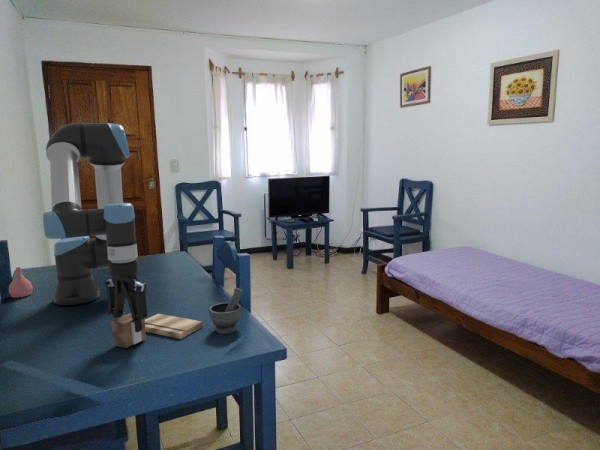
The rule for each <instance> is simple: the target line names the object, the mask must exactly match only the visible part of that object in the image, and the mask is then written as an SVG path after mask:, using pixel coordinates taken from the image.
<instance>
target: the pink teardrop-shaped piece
mask: <svg viewBox="0 0 600 450" xmlns="http://www.w3.org/2000/svg"><path fill="white" fill-rule="evenodd" d="M15 272H16V274H15V276H14V279H13V280H12V281H11V282H10V284H9V285H8V292H9V294H10V297H11V298H15V299H17V298H18V299H20V298H19V297H21V298H26V297H28V296H30V295H32V294H33V284H32V282H31V281H30V280H28V279H27V278H25V276H24V274H23V273H22V267H21V266H18V267H15ZM25 296H26V297H25Z"/></svg>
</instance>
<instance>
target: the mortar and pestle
mask: <svg viewBox="0 0 600 450" xmlns="http://www.w3.org/2000/svg"><path fill="white" fill-rule="evenodd" d="M233 291H234V292H233V294H232V296H231V297H230V300H229V302H220V303H216V304H212V305H211V306H210V307H208V315H209V316H208V317H209V319H210V320H211V322H212V324H213V325H214V326H215V331H216V333H217V334H218V333H219V334H222V335H223V334H231V333H234V332H235V331H237V323H238V322H239V321H240V319H241V317H242V313H243V312H242V311H243V307H242V306H241V304H240V300H241V297H242V294H244V290H243V289H241V288H239V287H236V288H234V289H233Z"/></svg>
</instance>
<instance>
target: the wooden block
mask: <svg viewBox="0 0 600 450" xmlns="http://www.w3.org/2000/svg"><path fill="white" fill-rule="evenodd" d="M123 315H124V316H123ZM123 315H122V317H119V318H117V319H115V318H114V319H112V320H111V321H110V322H111V332H112V342H113V346H116V347H120V348H124V349H127V348H129V347H132V346H133V345H135V344H132V332H131V320H133V319H132V315H131V312H130V313H127V314H123ZM145 319H146V318H144V319H142V331H141V334H142V341H143V340H146V339H147V334H146V331H145Z"/></svg>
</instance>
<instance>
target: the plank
mask: <svg viewBox="0 0 600 450" xmlns="http://www.w3.org/2000/svg"><path fill="white" fill-rule="evenodd" d="M203 324H204V323H203V321H202V320H196V319H190V318H186V317H179V316H174V315H168V314H162V313H157V314H156V313H155V315H152V316H150V317H147V318H145V331H146V332H147V333H151V334H156V335H160V336H163V337H164V336H165V337H170V338H175V339H178V340H179V339H180V340H181V339H183V338H186V337H187V336H188V335H190V334H192V333H194V332H195V331H197V330H199V329H201V328H203V326H204V325H203Z"/></svg>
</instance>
